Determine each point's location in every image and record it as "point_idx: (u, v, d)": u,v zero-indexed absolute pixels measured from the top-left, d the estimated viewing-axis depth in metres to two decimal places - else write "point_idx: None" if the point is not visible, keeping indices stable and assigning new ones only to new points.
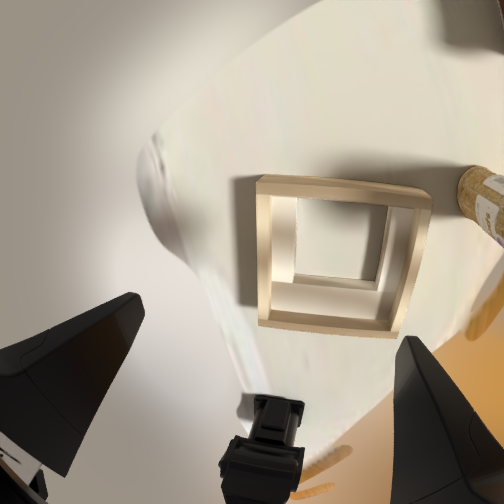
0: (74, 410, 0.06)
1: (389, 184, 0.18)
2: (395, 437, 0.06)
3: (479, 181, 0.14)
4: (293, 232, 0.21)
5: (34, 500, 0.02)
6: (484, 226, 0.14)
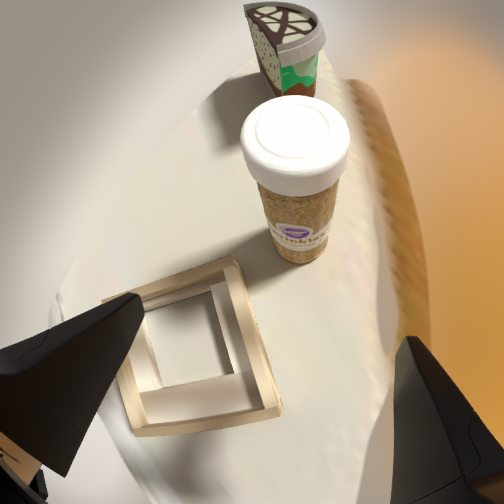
0: (74, 410, 0.06)
1: None
2: (395, 437, 0.06)
3: None
4: (141, 340, 0.21)
5: (34, 500, 0.02)
6: (284, 242, 0.18)
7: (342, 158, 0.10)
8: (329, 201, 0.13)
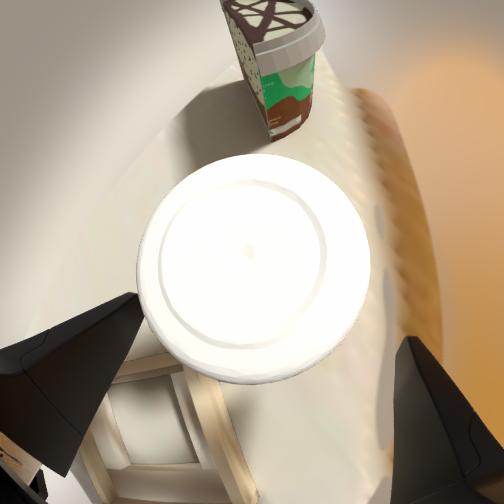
0: (74, 410, 0.06)
1: None
2: (395, 437, 0.06)
3: None
4: (101, 419, 0.16)
5: (34, 500, 0.02)
6: None
7: None
8: None
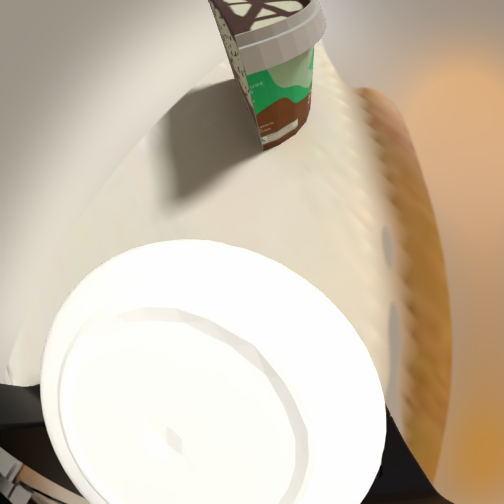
0: None
1: None
2: None
3: None
4: None
5: (34, 500, 0.02)
6: None
7: None
8: None
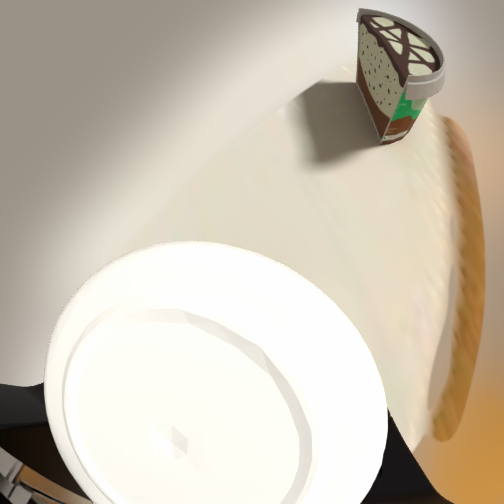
0: None
1: None
2: None
3: None
4: None
5: (34, 500, 0.02)
6: None
7: None
8: None
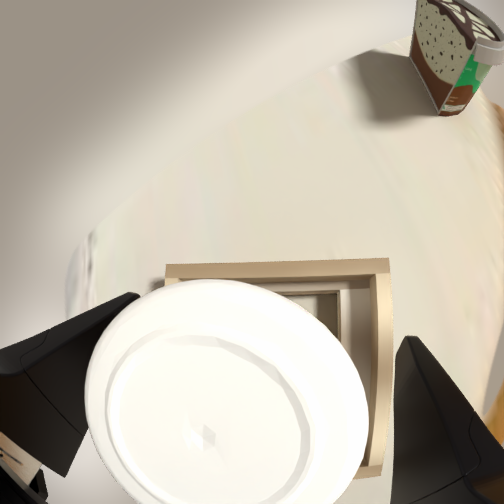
0: (74, 410, 0.06)
1: None
2: (395, 437, 0.06)
3: None
4: None
5: (34, 500, 0.02)
6: None
7: None
8: None
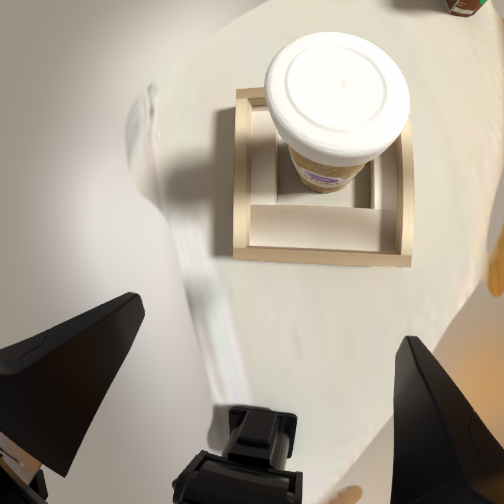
0: (74, 410, 0.06)
1: None
2: (395, 437, 0.06)
3: None
4: (273, 144, 0.19)
5: (34, 500, 0.02)
6: (308, 179, 0.16)
7: None
8: None
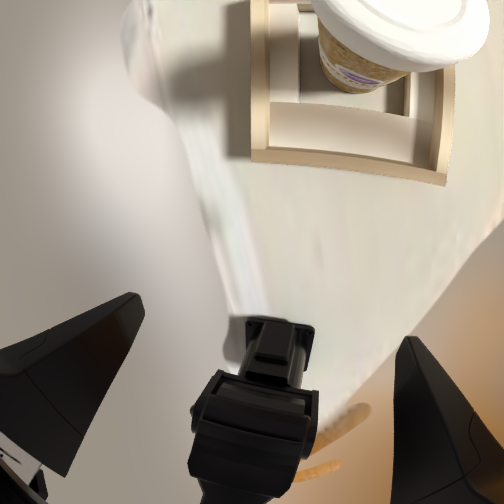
0: (74, 410, 0.06)
1: None
2: (395, 437, 0.06)
3: None
4: (295, 38, 0.13)
5: (34, 500, 0.02)
6: (340, 77, 0.11)
7: None
8: None
